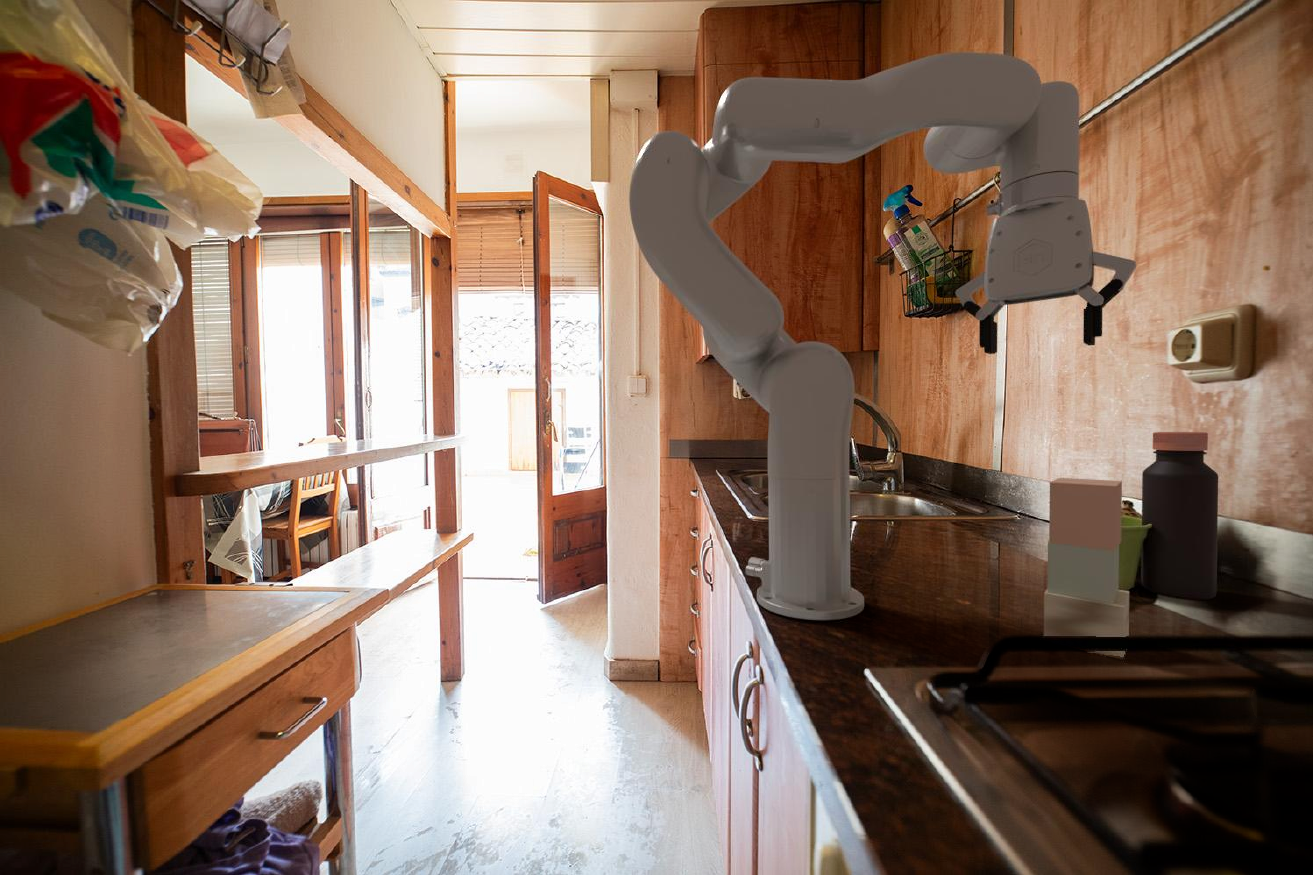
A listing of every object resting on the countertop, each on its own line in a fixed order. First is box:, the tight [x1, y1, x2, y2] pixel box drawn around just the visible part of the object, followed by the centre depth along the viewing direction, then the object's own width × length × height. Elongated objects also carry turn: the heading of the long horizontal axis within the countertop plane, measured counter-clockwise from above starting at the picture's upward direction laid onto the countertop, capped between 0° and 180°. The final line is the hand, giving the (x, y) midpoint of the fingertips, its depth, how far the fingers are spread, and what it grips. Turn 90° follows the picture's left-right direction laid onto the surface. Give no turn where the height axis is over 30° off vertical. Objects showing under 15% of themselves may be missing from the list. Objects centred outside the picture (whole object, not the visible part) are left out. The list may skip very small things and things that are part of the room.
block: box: [1048, 477, 1123, 551], centre depth 53 cm, size 5×5×6 cm
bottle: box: [1140, 431, 1219, 601], centre depth 67 cm, size 7×7×20 cm
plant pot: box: [1118, 515, 1152, 591], centre depth 71 cm, size 9×9×9 cm
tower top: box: [1046, 541, 1119, 604], centre depth 54 cm, size 5×5×5 cm
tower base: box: [1043, 589, 1130, 658], centre depth 54 cm, size 6×6×5 cm
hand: (1037, 348), depth 64 cm, fingers open, 9 cm apart
